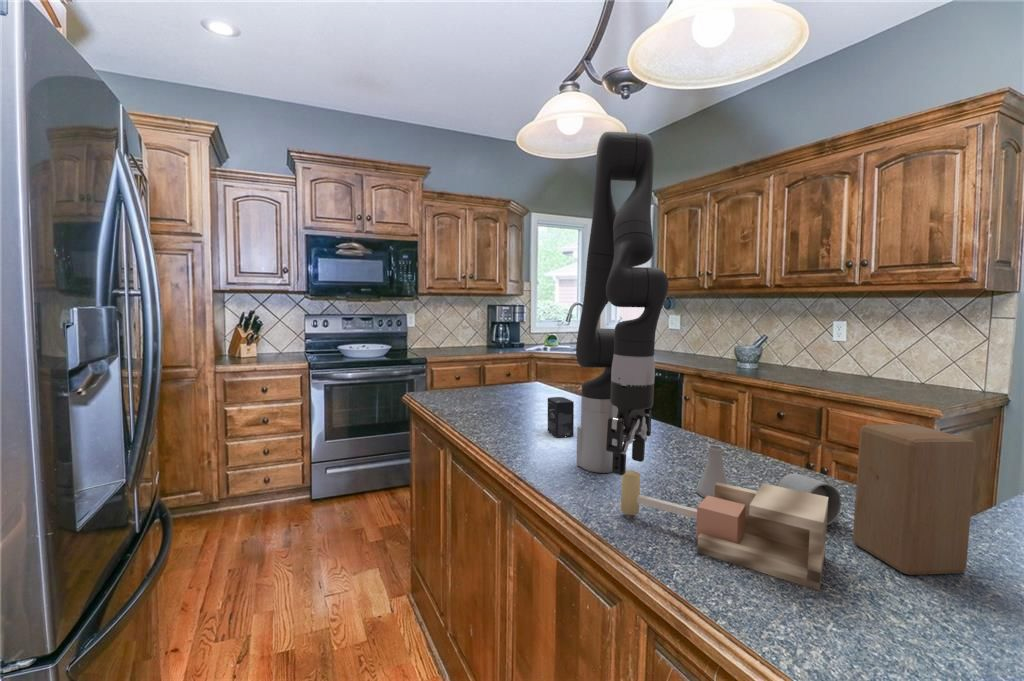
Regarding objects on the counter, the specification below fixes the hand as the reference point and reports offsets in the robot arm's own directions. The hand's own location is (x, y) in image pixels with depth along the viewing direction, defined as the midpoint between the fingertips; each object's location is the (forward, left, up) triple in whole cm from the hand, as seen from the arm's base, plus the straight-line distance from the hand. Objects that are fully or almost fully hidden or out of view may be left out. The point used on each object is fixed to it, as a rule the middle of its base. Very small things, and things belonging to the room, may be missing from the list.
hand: (628, 467), depth 85 cm
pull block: (+9, 0, -8) cm, 12 cm away
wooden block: (+40, +13, -9) cm, 43 cm away
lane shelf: (+22, 0, -9) cm, 24 cm away
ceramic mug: (+25, +19, -9) cm, 33 cm away
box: (-39, +40, -9) cm, 57 cm away
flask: (+10, +21, -9) cm, 25 cm away
